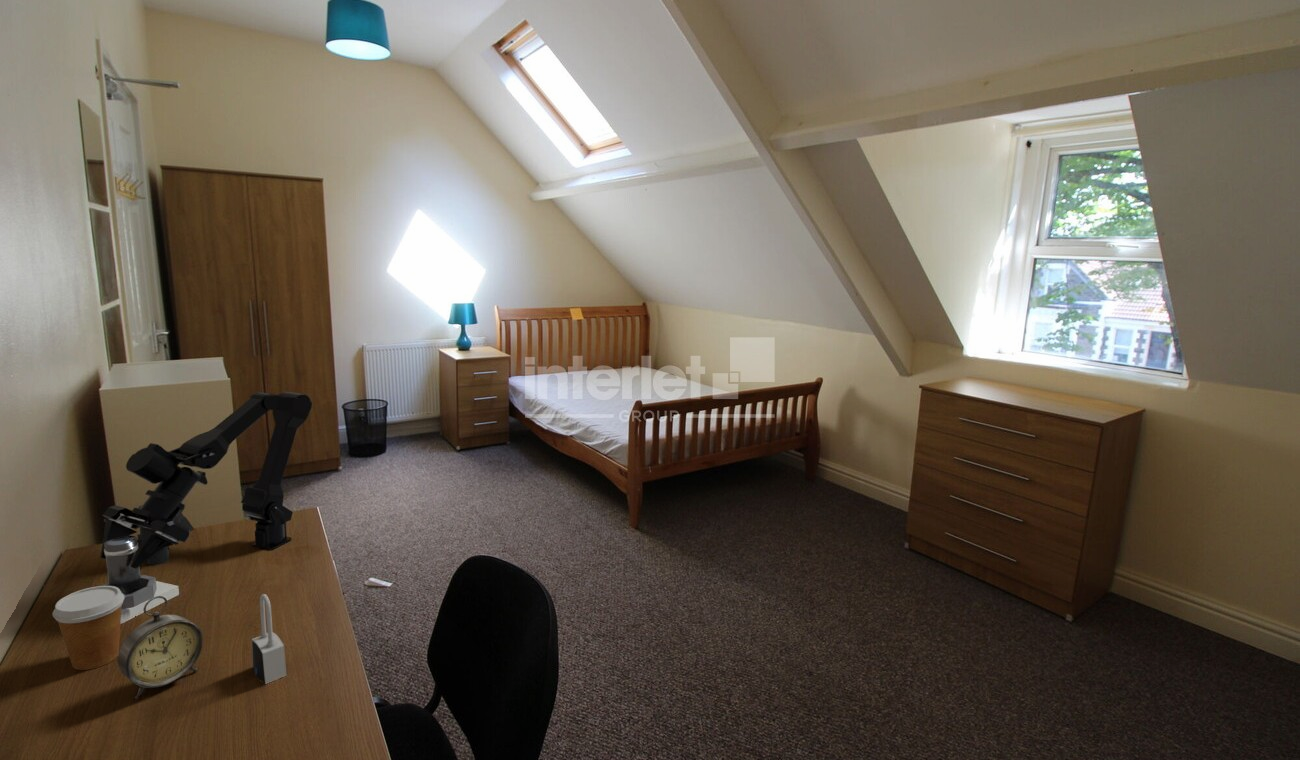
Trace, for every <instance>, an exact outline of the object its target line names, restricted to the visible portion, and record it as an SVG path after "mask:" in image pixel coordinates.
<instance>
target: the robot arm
mask: <svg viewBox="0 0 1300 760" xmlns="http://www.w3.org/2000/svg"><path fill="white" fill-rule="evenodd" d="M312 407H313V401H312V400H311V398H310V396H308V395H307V394H303V393H298V392H291V391H283V392H280V393H278V394H273V393H266V392H255V393H253V394H251V396H250V398H249V399H248V400H246V401H245V402H244V403H243V404H242V405H240V406H239V407H238V408H237V409H235V410H234V411H233V412H232V413H231V414H229V415H227V417H226V418H224V419H223V420H222V421H221V422H220V423H218V424H217V425H216V426H215V427H214V428H212V429H210V430H208V431H205V432H202V433H200V434H197V435H195V436H193V437H191V438H190V439H188V440H187V441H185V442H183V443H182V444H181V445H180V446H179V447H177V448H175V449H171V450H169V451H168V450H166V449H164V447H162V446H161V445H160V444H158V443H153V442H151V443H149V444H148V445H147V446H146V447H144V448H141V449H139V450H138V451H136V452H135V453H132V454H131V456H129V458H128V460H127V461H126V464H125V465H126V466H125V468H126V470H127V471H128V472H130V473H131V474H134V475H136V476H138V477H139V478H141V479H143V480H145V481H147V482H148V483H151V484H153V485H154V484H155V485H156V484H157V485H156V487H155V489H154V488H153V489H154V490H150V489H148V490H147V491H146V493H145V496H148V497H147V499H146V500H145V501H144V502H143V504H141V505H142V506H141V505H140V506H141V508H140V509H138V508H139V507H134V508H133V509H132V510H131V509H129V508H127V507H124V506H119V505H116V504H115V505H111V506H109V507H107V509H106V510H105V512H104V513H103V514H102V517H105V518H104V519H103V522H104V523H105V525H104V534H103V540H102V545H101V551H100V556H99V557H100V558H101V559H102V560H106V556H105V553H104V549H105V547H104V543H105V542H106V541H108V540H110V539H113V538H116V537H121V536H132V535H134V534H136V533H138V531H136V530H137V529H138V528H139V529H140V527H145V528H148V529H152V530H155V531H156V532H152V531H148V530H147V531H146V532H145V535H144V537H143V539H142V541H141V543H140V545H139V548H138V550H137V552H136V554H135V556H134V558H133V561H132V564H131V567H132V568H135V569H136V568H137V567H139V566H140V567H141V566H142V564H144V563H146V562H147V560H148V559H149V558H150V557H151V556H153V555H154V554H155V553H157V552H158V551H159V550H161V549H162V548H164V547H167V546H168V547H171V546H178V545H179V544H180V543H183V544H186V542H187V540H189V537H190V535H191V532H192V531H193V530H194V529H195V528H194V527H193V525H192V524H191V523H190V521H189V519H188V518H187V517H186V516H185V515H184V514H183V513H182V512H183V511H184V510H185V508H186V504H185V503H183V501H184V500H185V499H186V498H187V496H189V494H190V492H191V491H192V490H193V488H194V487H195V485H196V484H201V485H204V486H205V485H206V486H207V484H208V478H207V477H206V472H205V471H201V470H205V469H206V470H208V469H209V470H210V469H212V468H215V466H217V465H218V464H219V462H221V461H222V459H223V458H224V457H226V454H227V453H228V450H229V448H230V445H231V444H232V443H233V442H234V441H235V440H236V439H238V438H239V437H240V436H241V435H242V434H243V433H245V431H246V430H248V429H249V428H250V427H252V426H253V424H255V423H256V422H257V421H259V420H260V419H261V418H262V417H263V416H264V415H265V414H267V413H268V412H269V411H271V410H272V416H273V417H272V418H273V421H274V425H275V426H274V429H273V432H272V434H271V435H272V436H271V439H270V441H269V445H268V449H267V451H266V455H265V458H264V462H263V465H262V468H261V470H260V474H259V478H258V481H257V482H256V483H255V484H254V485H253V486H252V487H251V486H247V487H246V488H245V490H244V496H243V498H242V500H241V501H240V504H242V507H241V508H242V511H243V512H244V514H245V515H246V516H248V518H249V520H250V521H254V522H256V523H255V530H254V539H255V541H254V542H252V543H251V546H252V547H257V548H261V549H267V550H274V549H276V548H278V547H280V546H282V545H284V544H285V543H288V542H290V541H292V540H293V537H291V536H290V537H289V536H288V535H287V534H288V533H287V522H289V521H291V520H292V516H293V510H291V509H289V508H287V507H286V506H284V505H283V504H284V497H285V496H284V492H283V488H282V481H283V477H284V474H285V471H286V468H287V465H288V461H289V457H290V454H291V450H292V447H293V445H294V441H295V438H296V433H297V430H298V429H299V428H300V426H302V424H304V422H306V420H307V419H308V417H309V414H310V412H311V410H312ZM179 465H183V466H182V467H180V466H179ZM190 467H191V468H190ZM193 467H195V468H198V469H201V470H198V471H195V470H194V469H192V468H193ZM291 539H292V540H291ZM289 540H290V541H289ZM287 541H288V542H287Z"/></svg>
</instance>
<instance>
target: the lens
mask: <svg viewBox="0 0 1300 760" xmlns="http://www.w3.org/2000/svg"><path fill="white" fill-rule="evenodd" d="M137 540H138V537H137V536H134V535H129V536H121V537H116V538H113V539H110V540H108V541H106V542H105V543H104V547H105V549H104V553H105V556H106V559H105V562H106V570H107V571H106V572H107V579H108V582H109V586H114V587H117V588H119V589H120V591H121V593H123V594H124V595H127V594H132V593H134V592H136V591H138V590H140V589H142V586H141V576H140V575H141V568H140V567H141V565H140V566H139V567H137V568H136V569H135V568H132V567H131V564H132V561H133V558H134V556H135V554H136V552H137V550H138V543H137ZM108 582H107V583H108Z"/></svg>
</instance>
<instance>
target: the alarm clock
mask: <svg viewBox="0 0 1300 760" xmlns="http://www.w3.org/2000/svg"><path fill="white" fill-rule="evenodd" d="M156 598H162V599H164V600H165V602H164V606H163V608H162V609H161V610H160V611H157V610H155V612H153V613H148V612H147V611H146V607H147V605H148V603H149V602H150V601H152V600H153V599H156ZM167 606H168V600H167V599H166V598H165V597H163V596H156V597H153V598H152V599H150V600H149V601H148V602H147V603H146V604H145V606H144V614H145V615H146V616H149V617H151V618H150V619H148V620H145V621H144V622H143V623H141V624H139V625H138V626H137V627H135V628H134V629H133V630H132V631H131V632H130V633H129V634H128V635H127V636H126V638H125V639H124V640H123V642H122V644H121V647H119V654H118V656H117V664H118V665H117V666H118V669H119V671H120V672H121V673H122V675H123V676H124V677H125V678H127V679H128V680H129V681H130V682H132V684H133V685H136V686H138V687H139V688H138V691H137V693H136V695H135V696H134V700H139V699H140V696H141V694H142V693H143V692H144V691H145V689H154V688H159V687H164V686H166V685H169V684H170V683H173V682H175V681H177V680H179V679H180V678H181V677H182V676H184V675H185V674H187V673H188V671H193V672H194V673H197V672H198V668H197V667H194V665H195V664H196V662H197V660H198V659H199V657H200V655H201V653H202V652H203V651H202V650H203V646H204V636H203V632H202V630H201V628H200V627H199V626H198V625H197V624H195V623H194V622H192V621H190V620H189V619H188V618H185V617H183V616H181V615H177V614H162V615H160V614H161V613H162V612H164V610H166V607H167Z"/></svg>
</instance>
